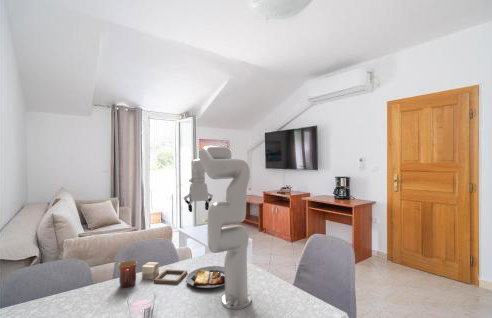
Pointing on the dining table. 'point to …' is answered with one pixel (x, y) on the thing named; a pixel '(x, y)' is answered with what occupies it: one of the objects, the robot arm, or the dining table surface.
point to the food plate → (207, 277)
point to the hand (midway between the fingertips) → (198, 210)
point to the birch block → (150, 270)
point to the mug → (127, 273)
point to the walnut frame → (166, 281)
